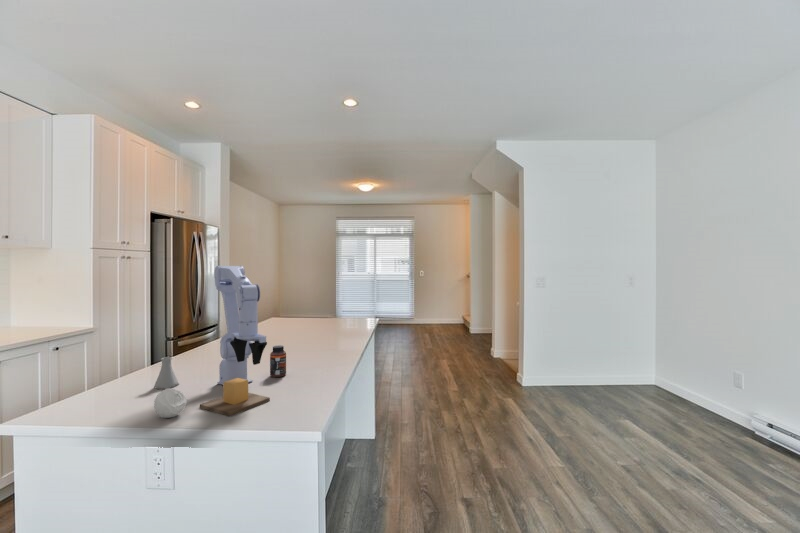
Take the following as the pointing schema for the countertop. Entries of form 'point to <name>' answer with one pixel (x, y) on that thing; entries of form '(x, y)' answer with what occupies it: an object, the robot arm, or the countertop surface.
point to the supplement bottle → (278, 362)
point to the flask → (166, 375)
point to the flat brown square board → (231, 409)
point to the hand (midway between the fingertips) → (248, 362)
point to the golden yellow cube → (235, 391)
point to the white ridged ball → (169, 403)
